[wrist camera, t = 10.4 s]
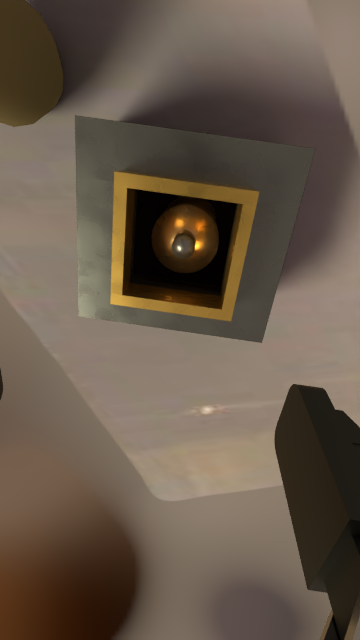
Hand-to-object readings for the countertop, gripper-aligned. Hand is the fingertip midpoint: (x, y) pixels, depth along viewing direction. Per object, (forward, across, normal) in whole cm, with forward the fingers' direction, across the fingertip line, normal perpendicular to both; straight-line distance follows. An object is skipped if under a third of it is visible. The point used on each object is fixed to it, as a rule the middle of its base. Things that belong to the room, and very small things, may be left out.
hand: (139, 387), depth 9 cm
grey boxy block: (+25, 0, 0) cm, 25 cm away
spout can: (+25, 0, 0) cm, 25 cm away
